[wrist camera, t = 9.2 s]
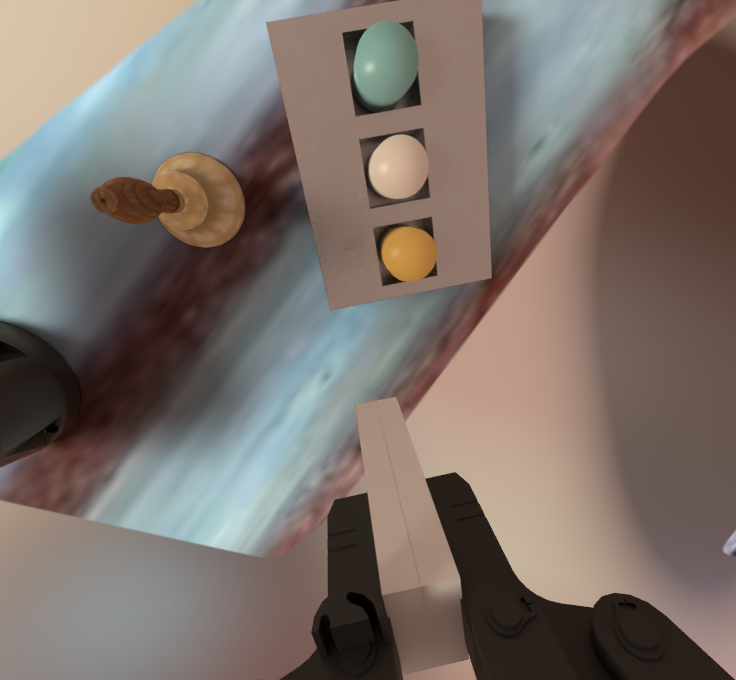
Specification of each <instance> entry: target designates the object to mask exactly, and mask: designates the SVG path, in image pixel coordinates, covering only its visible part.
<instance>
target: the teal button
mask: <svg viewBox="0 0 736 680" xmlns="http://www.w3.org/2000/svg"><path fill="white" fill-rule="evenodd" d="M418 66H419V55H418V49H417V45H416V43H415V40H414V38H413V37H412V35H411V34H410V32H409V31H408V30H407V29H406V28H405V27H404V26H402V25H401V24H399V23H397V22H394V21H380V22H377V23H375V24H373V25H372V26H370V27H369V28H368V29H367V30H366V31H365V32H364V34H363V35H362V37H361V38H360V41H359V43H358V46H357V50H356V55H355V60H354V65H353V70H352V76H351V81H352V88H353V92H354V94H355V96H356V98H357V100H358V101H359V103H360V104H361V105H362V106H363V107H365V108H366V109H368V110H369V111H372V112H377V113H380V112H385V111H389V110H391V109H392V108H394V107H395V106H396V105H397V104H398V103H399V101H400V100H401V99H402V97H403V96H404V95H405V93H406V92H407V91H408V89H409V88H410V86H411V85H412V84H413V82H414V80H415V78H416V75H417V71H418Z"/></svg>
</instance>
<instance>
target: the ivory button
mask: <svg viewBox="0 0 736 680" xmlns="http://www.w3.org/2000/svg"><path fill="white" fill-rule="evenodd" d="M428 171H429V161H428V156H427V153H426V151H425V149H424V147H423V146H422V145H421V143H420V142H419V141H417V140H416V139H415V138H413V137H411V136H408V135H394V136H391V137H389V138H387V139H386V140H384V141H383V142H382V143H381V144H380V145H379V146H378V147H377V148H376V149H375V150H374V151H373V152H372V154H371V155H370V157H369V159H368V162H367V165H366V178H367V181H368V184H369V186H370V188H371V189H372V190H373V191H374V192H375V193H376V194H377V195H379V196H380V197H383V198H386V199H403V198H408V197H410V196H412V195H414V194H415V193H417V192H418V191H419V190H420V189H421V187H422V186H423V185H424V183H425V181H426V179H427V175H428Z"/></svg>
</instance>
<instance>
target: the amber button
mask: <svg viewBox="0 0 736 680" xmlns="http://www.w3.org/2000/svg"><path fill="white" fill-rule="evenodd" d="M378 254H379V258H380V260H381V262H382V263H383V265H384V266H385V267H386V268H387V269H388V270H389V271H390V273H391V274H392V275H393V276H394V277H396V278H397V279H399V280H402V281H406V282H413V281H418V280H420V279H422V278H424V277H425V276H427V275H428V274H429V273H430V271H431V270H432V269H433V267H434V265H435V262H436V259H437V248H436V244H435V242H434V240H433V238H432V237H431V236H430V235H429V234H428V233H427V232H425V231H423V230H421V229H418V228H415V227H411V226H408V225H396V226H393V227H391V228H389V229H388V230H387V231H386V232H385V233H384V234H383V235H382V237H381V239H380V241H379V245H378Z"/></svg>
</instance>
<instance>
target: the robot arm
mask: <svg viewBox="0 0 736 680" xmlns="http://www.w3.org/2000/svg"><path fill="white" fill-rule="evenodd" d="M80 401H81V399H80V390H79V386H78V383H77V380H76V378H75V376H74V374H73V372H72V370H71V369H70V367H69V366H68V364H67V363H66V362H65V360H64V359H63V358H62V357H61V356H60V355H59V354H58V353H57V352H56V351H55V350H54V349H53V348H52V347H50V346H49V345H48V344H46V343H45V342H44V341H42V340H41V339H39V338H38V337H36V336H34V335H32V334H30V333H29V332H27V331H24V330H22V329H20V328H17V327H15V326H12V325H9V324H5V323H2V322H0V467H3V466H5V465H7V464H10V463H12V462H14V461H17V460H19V459H21V458H23V457H26V456H28V455H30V454H33V453H35V452H37V451H39V450H41V449H43V448H45V447H47V446H48V445H50V444H51V443H52V442H54V441H55V440H56V439H57V438H58V437H59V436H61V435H62V434H63V433H64V432H65V431H66V430H67V429H68V428H69V427H70V426H71V425H72V424H73V422H74V421H75V419H76V417H77V415H78V412H79V409H80ZM355 408H356V415H357V422H358V429H359V436H360V443H361V451H362V458H363V465H364V472H365V478H366V486H367V493H364V494H359V495H355V496H350V497H346V498H341V499H336V500H334V503H333V505H332V507H331V510H330V512H329V514H328V597H327V598H326V599H325V600H324V601H323V602H322V604H321V605H320V607H319V609H318V611H317V613H316V615H315V617H314V622H313V626H312V632H311V633H312V636H313V638H314V641H315V643H316V646H317V649H316V650H315V652H314V653H313V654H312V656H311V657H310V658H309V659H308V660H306V661H305V662H304V663H303V664H302V665H301V666H300V667H298V668H296V669H295V670H294V671H292V672H291V673H289V674H287V675H286V676H285V677H283V678H282V679H280V680H403V677H402V675H405V674H409V673H413V672H417V671H421V670H426V669H430V668H434V667H438V666H442V665H446V664H450V663H454V662H458V661H463V660H467V659H469V656H470V659H471V662H472V666H473V669H474V672H475V675H476V678H477V680H735V679H733V678H732V677H731V676H730V675H729V674H728V673H727V672H726V671H725V670H724V669H723V668H722V667H720V665H718V664H717V663H716V662H715V661H714V660H713V659H712V658H711V657H710V656H708V654H707V653H705V652H704V651H703V650H702V649H701V648H700V647H699V646H698V645H697V644H696V643H695V642H694V641H692V640H691V639H690V638H689V637H688V636H687V635H686V634H685V633H684V632H683V631H682V630H681V629H679V628H678V627H677V626H676V625H675V624H674V623H673V622H672V621H671V620H670V619H669V618H668V617H667V616H665V615H664V614H663V613H661V612H660V611H659V610H657V609H656V608H655V607H653V606H652V605H651V604H649V603H648V602H646V601H643V600H641V599H639V598H636V597H634V596H631V595H627V594H619V593H613V594H609V595H605V596H602V597H601V598H600V599H599V600H598V601H597V602H596V604H595V605H594V608H591V607H584V606H576V605H569V604H561V603H557V602H553V601H549V600H546V599H544V598H542V597H540V596H538V595H536V594H535V593H533V592H532V591H530V590H529V589H528V588H526V587H525V585H524V584H523V583H521V581H520V580H519V579H518V578H517V576H516V575H515V573H514V572H513V570H512V568H511V566H510V564H509V562H508V560H507V558H506V556H505V554H504V552H503V550H502V548H501V546H500V544H499V542H498V540H497V538H496V536H495V535H494V532H493V530H492V528H491V526H490V524H489V522H488V520H487V519H486V517H485V515H484V513H483V510H482V508H481V506H480V504H479V503H478V501H477V499H476V497H475V495H474V493H473V491H472V489H471V487H470V485H469V484H468V483H467V482H466V481H465V480H464V479H463V478H461V477H460V476H459V475H458V474H457V473H455V472H454V473H450V474H445V475H441V476H436V477H432V478H427V479H425V477H424V475H423V472H422V469H421V466H420V464H419V460H418V458H417V455H416V452H415V449H414V446H413V444H412V441H411V438H410V435H409V433H408V429H407V427H406V424H405V421H404V418H403V415H402V413H401V410H400V407H399V404H398V401H397V398H396V397H392V398H387V399H383V400H378V401H373V402H368V403H364V404H359V405H355ZM468 653H469V656H468Z"/></svg>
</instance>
